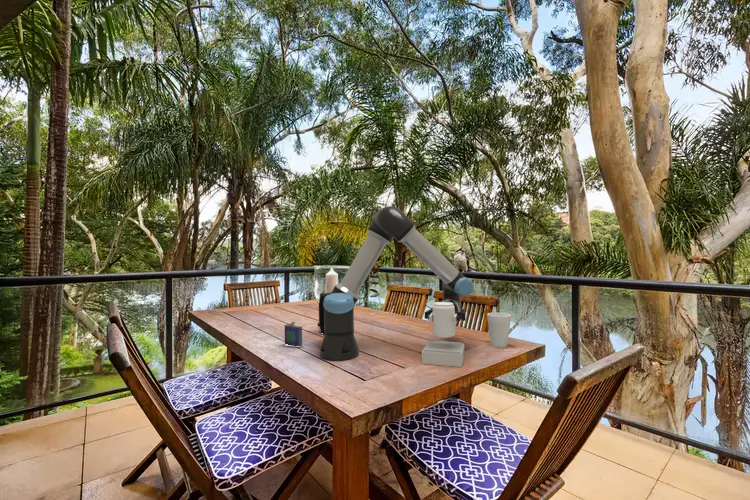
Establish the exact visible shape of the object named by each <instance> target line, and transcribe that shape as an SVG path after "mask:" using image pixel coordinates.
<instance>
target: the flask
mask: <svg viewBox="0 0 750 500" xmlns="http://www.w3.org/2000/svg"><path fill="white" fill-rule="evenodd" d="M285 344H288V345H294V346H302V347H303V326H302V325H296V321H290V323H286V324H284V345H285Z"/></svg>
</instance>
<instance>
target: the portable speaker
mask: <svg viewBox="0 0 750 500" xmlns="http://www.w3.org/2000/svg"><path fill="white" fill-rule="evenodd" d="M331 292H332V291H330V292H329V293H328V292H320V293H319V302H318V323H319V324H318V325H319V330H320V334H321V333H323V334H324V306H323V303H324V298H325V297H326V296H327V295H330V294H331ZM323 334H322V335H323Z"/></svg>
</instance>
